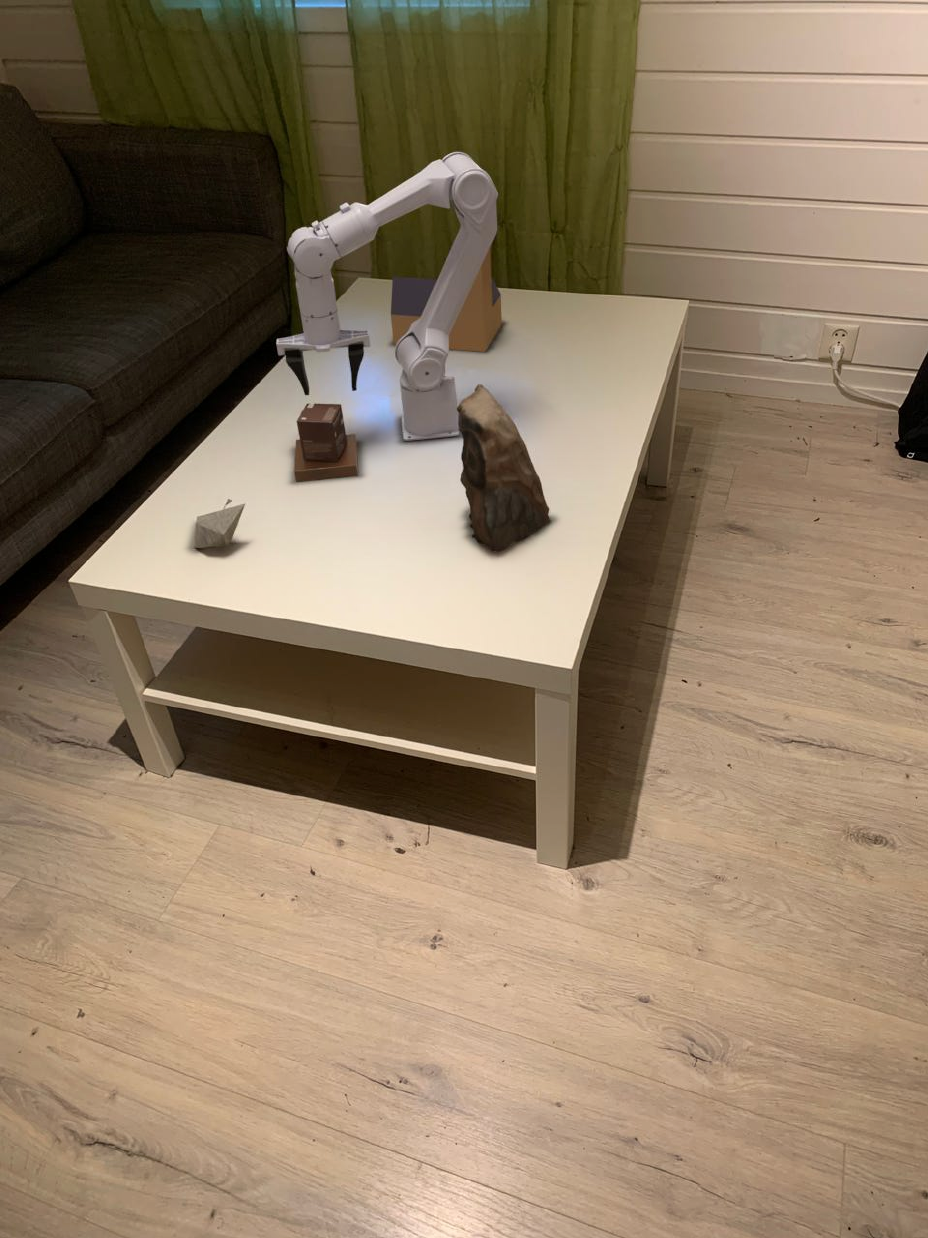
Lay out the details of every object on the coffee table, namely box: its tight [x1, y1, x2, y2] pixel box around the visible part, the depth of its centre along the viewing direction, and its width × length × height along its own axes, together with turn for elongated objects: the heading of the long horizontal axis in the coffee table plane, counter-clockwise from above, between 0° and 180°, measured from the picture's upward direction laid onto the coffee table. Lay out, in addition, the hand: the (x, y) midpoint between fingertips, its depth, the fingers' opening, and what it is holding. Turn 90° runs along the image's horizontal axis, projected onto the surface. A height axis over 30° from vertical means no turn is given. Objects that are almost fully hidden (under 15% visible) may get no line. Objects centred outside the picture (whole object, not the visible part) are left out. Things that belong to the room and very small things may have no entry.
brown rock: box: [457, 383, 551, 553], centre depth 144 cm, size 13×13×20 cm
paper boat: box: [193, 498, 246, 549], centre depth 150 cm, size 12×6×9 cm
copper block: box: [293, 433, 359, 483], centre depth 166 cm, size 10×10×2 cm
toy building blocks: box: [390, 231, 503, 353], centre depth 192 cm, size 12×19×25 cm, turn 74°
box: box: [296, 402, 347, 461], centre depth 163 cm, size 6×6×7 cm
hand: (330, 390), depth 164 cm, fingers open, 7 cm apart
